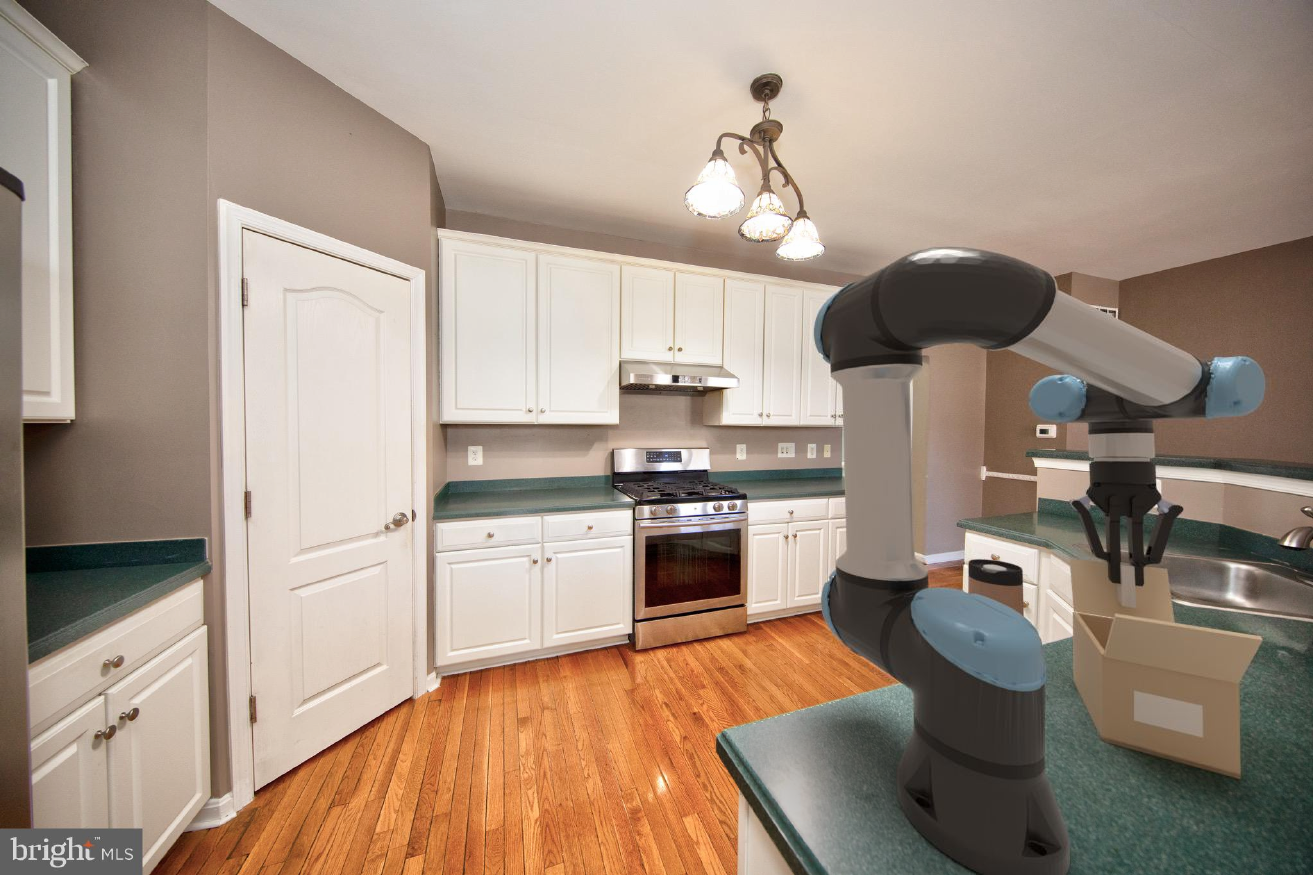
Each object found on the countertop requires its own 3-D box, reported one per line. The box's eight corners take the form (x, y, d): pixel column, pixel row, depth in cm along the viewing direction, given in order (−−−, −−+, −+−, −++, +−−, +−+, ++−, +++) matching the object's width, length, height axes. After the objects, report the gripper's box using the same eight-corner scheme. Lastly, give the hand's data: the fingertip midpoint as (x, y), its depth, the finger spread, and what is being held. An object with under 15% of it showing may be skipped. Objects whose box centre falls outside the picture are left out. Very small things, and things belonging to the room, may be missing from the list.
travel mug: (1004, 669, 79) (1003, 559, 79) (1036, 694, 71) (1035, 572, 71) (959, 667, 79) (958, 558, 80) (986, 691, 72) (985, 570, 72)
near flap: (1236, 679, 53) (1238, 683, 53) (1103, 653, 60) (1104, 657, 60) (1260, 636, 49) (1262, 640, 49) (1114, 613, 56) (1115, 616, 55)
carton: (1241, 779, 53) (1239, 681, 53) (1103, 741, 60) (1102, 654, 60) (1178, 705, 68) (1177, 628, 68) (1073, 681, 75) (1072, 611, 75)
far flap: (1074, 611, 75) (1073, 611, 75) (1175, 627, 68) (1174, 627, 69) (1069, 558, 77) (1069, 558, 78) (1167, 568, 71) (1165, 569, 71)
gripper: (1170, 460, 71) (1177, 606, 70) (1063, 459, 79) (1067, 591, 78) (1190, 460, 65) (1198, 620, 64) (1071, 459, 73) (1077, 602, 71)
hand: (1126, 604), depth 71 cm, fingers closed
